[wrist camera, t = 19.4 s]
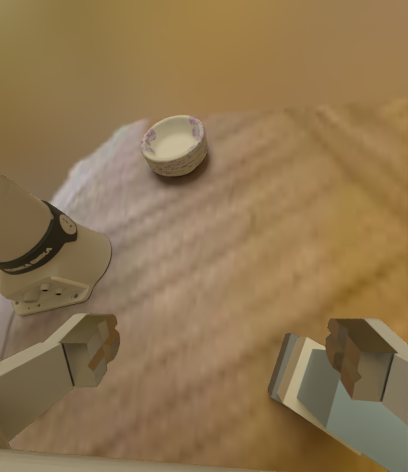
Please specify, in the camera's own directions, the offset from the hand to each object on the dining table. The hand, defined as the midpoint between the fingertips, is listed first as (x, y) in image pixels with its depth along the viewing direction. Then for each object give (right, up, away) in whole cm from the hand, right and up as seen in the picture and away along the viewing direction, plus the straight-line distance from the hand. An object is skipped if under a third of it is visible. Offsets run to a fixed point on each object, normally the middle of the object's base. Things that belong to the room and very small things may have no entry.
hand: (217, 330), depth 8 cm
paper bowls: (-6, +23, +46) cm, 52 cm away
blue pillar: (+12, -12, +13) cm, 21 cm away
